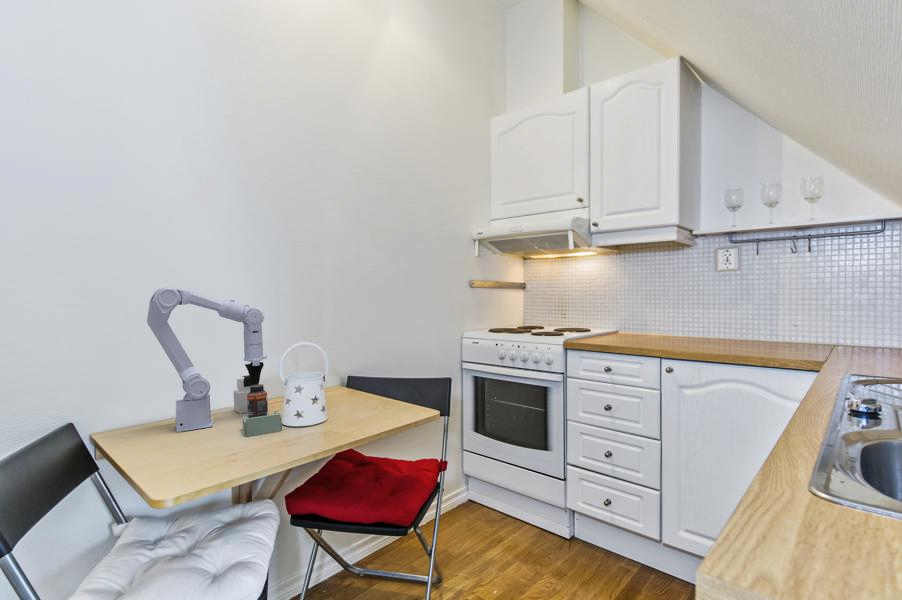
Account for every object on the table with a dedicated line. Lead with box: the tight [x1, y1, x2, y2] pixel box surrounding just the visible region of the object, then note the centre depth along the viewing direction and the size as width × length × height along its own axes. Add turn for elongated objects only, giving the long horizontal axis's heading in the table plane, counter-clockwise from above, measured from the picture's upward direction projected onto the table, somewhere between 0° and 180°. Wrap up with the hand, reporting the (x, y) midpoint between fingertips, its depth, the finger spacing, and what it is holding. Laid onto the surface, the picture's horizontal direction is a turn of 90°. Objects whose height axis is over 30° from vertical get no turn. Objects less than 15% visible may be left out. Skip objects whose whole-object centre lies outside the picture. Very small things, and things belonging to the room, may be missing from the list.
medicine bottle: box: [233, 374, 252, 415], centre depth 158 cm, size 7×7×12 cm
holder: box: [242, 410, 283, 438], centre depth 134 cm, size 10×10×5 cm
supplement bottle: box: [247, 383, 269, 418], centre depth 144 cm, size 6×6×11 cm
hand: (255, 384), depth 150 cm, fingers closed
